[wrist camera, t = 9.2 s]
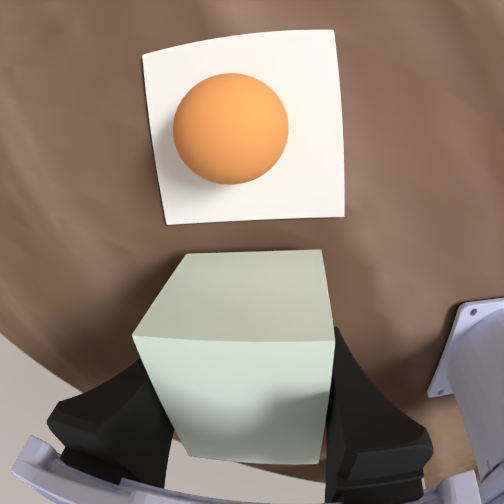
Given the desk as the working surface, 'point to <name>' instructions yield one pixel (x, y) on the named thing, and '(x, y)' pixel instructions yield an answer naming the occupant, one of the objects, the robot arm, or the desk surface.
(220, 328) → the pale green block
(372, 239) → the desk surface
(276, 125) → the ball
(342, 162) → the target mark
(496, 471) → the robot arm
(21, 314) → the desk surface
